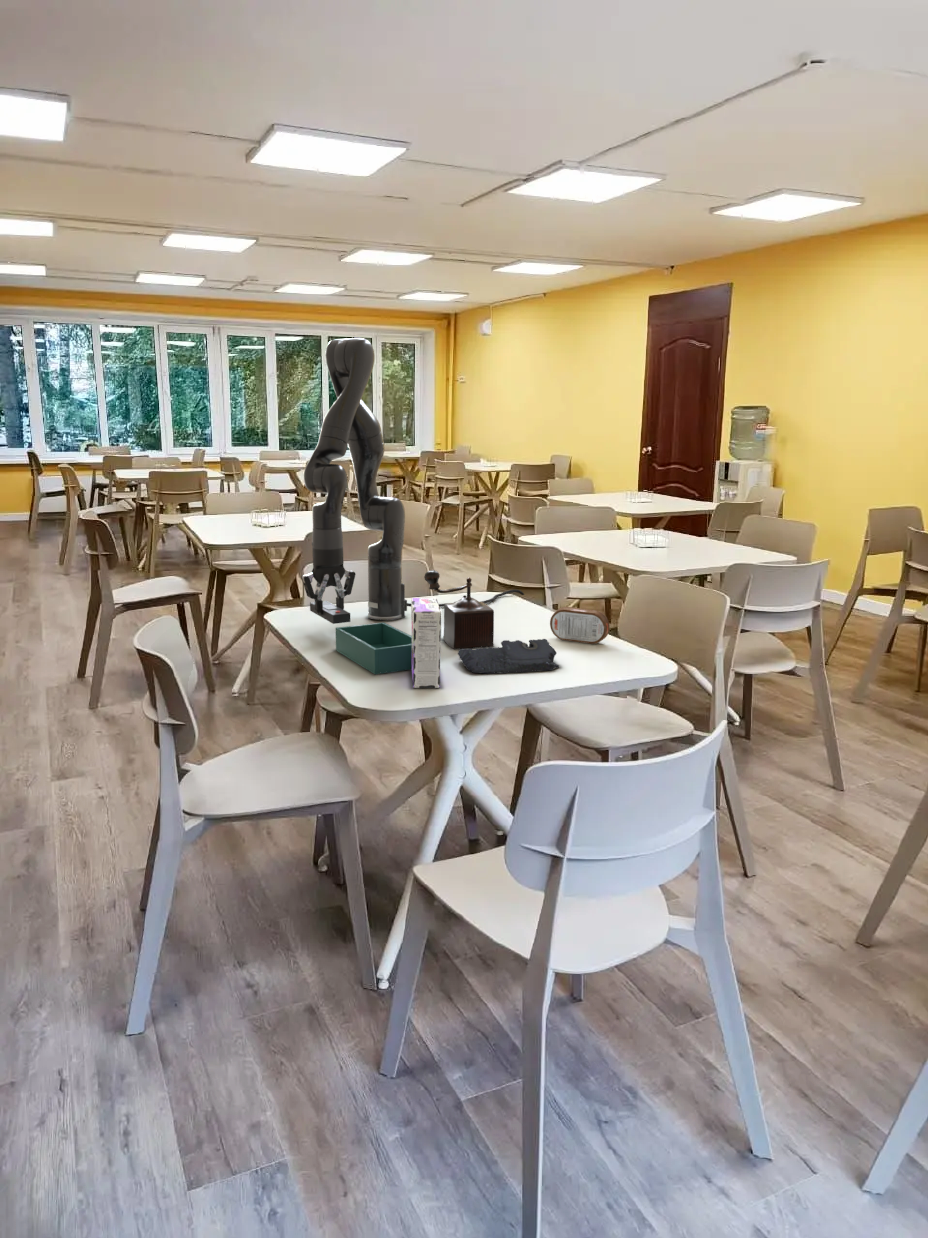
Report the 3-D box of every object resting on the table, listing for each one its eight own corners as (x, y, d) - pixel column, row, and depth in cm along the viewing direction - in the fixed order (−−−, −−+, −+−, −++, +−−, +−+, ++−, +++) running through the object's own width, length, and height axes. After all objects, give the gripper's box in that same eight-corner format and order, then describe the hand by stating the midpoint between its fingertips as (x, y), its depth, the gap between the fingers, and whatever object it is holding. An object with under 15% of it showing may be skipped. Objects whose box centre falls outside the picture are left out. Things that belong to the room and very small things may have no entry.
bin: (384, 644, 217) (383, 622, 216) (426, 667, 198) (426, 643, 197) (335, 650, 211) (335, 627, 210) (374, 674, 192) (374, 649, 191)
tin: (609, 643, 221) (610, 610, 219) (605, 646, 218) (607, 613, 216) (552, 636, 227) (553, 604, 225) (547, 639, 224) (549, 606, 222)
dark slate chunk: (452, 657, 207) (452, 637, 205) (541, 652, 212) (542, 633, 211) (468, 675, 192) (469, 654, 191) (564, 670, 197) (565, 649, 196)
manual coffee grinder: (481, 636, 226) (482, 566, 222) (494, 647, 216) (496, 574, 212) (422, 639, 222) (422, 568, 218) (432, 650, 212) (433, 576, 208)
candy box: (410, 669, 196) (410, 596, 192) (437, 669, 196) (437, 596, 193) (412, 688, 183) (412, 610, 179) (440, 688, 183) (441, 610, 179)
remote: (326, 608, 230) (326, 599, 230) (350, 621, 217) (350, 612, 216) (310, 610, 228) (309, 601, 227) (333, 624, 215) (333, 614, 214)
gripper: (305, 550, 212) (307, 619, 216) (360, 545, 219) (362, 613, 223) (294, 545, 218) (297, 613, 222) (348, 541, 225) (350, 607, 229)
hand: (329, 612), depth 222 cm, fingers closed on remote, 4 cm apart
